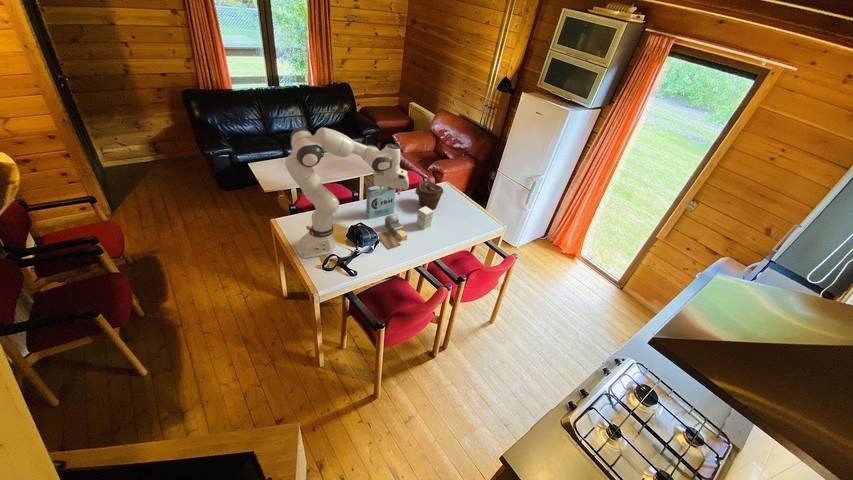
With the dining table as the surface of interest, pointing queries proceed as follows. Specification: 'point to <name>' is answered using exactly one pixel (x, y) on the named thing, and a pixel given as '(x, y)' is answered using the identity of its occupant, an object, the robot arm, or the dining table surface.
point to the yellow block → (401, 235)
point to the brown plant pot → (428, 194)
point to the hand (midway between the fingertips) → (390, 193)
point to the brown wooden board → (388, 240)
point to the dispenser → (393, 224)
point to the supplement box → (424, 217)
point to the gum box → (379, 201)
